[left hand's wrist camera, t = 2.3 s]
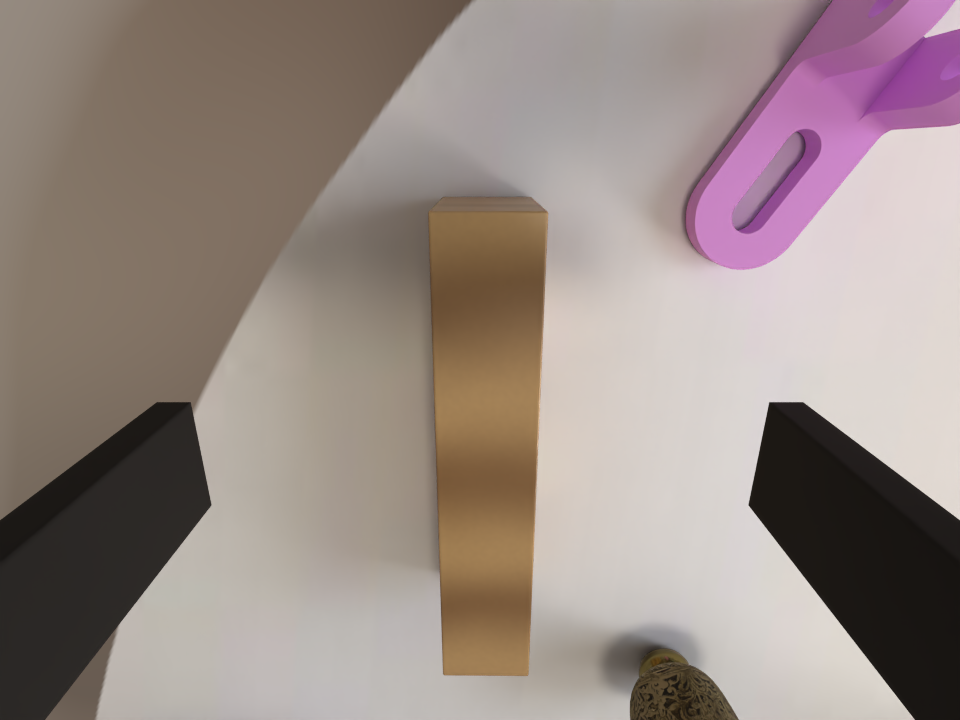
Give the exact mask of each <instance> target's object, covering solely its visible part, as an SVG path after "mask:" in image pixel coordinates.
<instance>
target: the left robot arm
mask: <svg viewBox="0 0 960 720" xmlns="http://www.w3.org/2000/svg"><path fill="white" fill-rule="evenodd" d="M210 506H211V500H210V496H209V491H208V486H207V481H206V476H205V471H204V466H203V461H202V456H201V451H200V446H199V441H198V436H197V431H196V426H195V422H194V417H193V412H192V407H191V403H190V402H157V403H155V404H154V405H153V406H151V407H150V408H149V409H147V410H146V411H145V412H143V413H142V414H141V415H139V416H138V417H137V418H135V419H134V420H133V421H131V422H130V423H129V424H127V425H126V426H125V427H123V428H122V429H121V430H120V431H118V432H117V433H116V434H114V435H113V436H112V437H110V438H109V439H108V440H106V441H105V442H104V443H102V444H101V445H100V446H98V447H97V448H96V449H94V450H93V451H92V452H90V453H89V454H88V455H86V456H85V457H84V458H82V459H81V460H80V461H78V462H77V463H76V464H74V465H73V466H72V467H70V468H69V469H68V470H66V471H65V472H64V473H62V474H61V475H60V476H58V477H57V478H56V479H54V480H53V481H52V482H50V483H49V484H48V485H46V486H45V487H44V488H43V489H41V490H40V491H39V492H37V493H36V494H35V495H33V496H32V497H31V498H29V499H28V500H27V501H25V502H24V503H23V504H21V505H20V506H19V507H17V508H16V509H15V510H13V511H12V512H11V513H9V514H8V515H7V516H5V517H4V518H3V519H1V520H0V720H45V719H46V718H47V716H48V715H49V714H50V713H51V711H52V710H53V709H54V707H55V706H56V705H57V704H58V702H59V701H60V700H61V698H62V697H63V696H64V695H65V693H66V692H67V691H68V689H69V688H70V687H71V686H72V684H73V683H74V682H75V680H76V679H77V678H78V677H79V675H80V674H81V673H82V671H83V670H84V669H85V667H86V666H87V665H88V664H89V662H90V661H91V660H92V658H93V657H94V656H95V655H96V653H97V652H98V651H99V649H100V648H101V647H102V646H103V644H104V643H105V642H106V640H107V639H108V638H109V637H110V635H111V634H112V633H113V631H114V630H115V629H116V628H117V626H118V625H119V624H120V622H121V621H122V620H123V619H124V617H125V616H126V615H127V613H128V612H129V611H130V609H131V608H132V607H133V606H134V604H135V603H136V602H137V600H138V599H139V598H140V597H141V595H142V594H143V593H144V591H145V590H146V589H147V588H148V586H149V585H150V584H151V582H152V581H153V580H154V579H155V577H156V576H157V575H158V573H159V572H160V571H161V570H162V568H163V567H164V566H165V564H166V563H167V562H168V561H169V559H170V558H171V557H172V555H173V554H174V553H175V551H176V550H177V549H178V548H179V546H180V545H181V544H182V542H183V541H184V540H185V539H186V537H187V536H188V535H189V533H190V532H191V531H192V530H193V528H194V527H195V526H196V524H197V523H198V522H199V521H200V519H201V518H202V517H203V515H204V514H205V513H206V512H207V510H208V509H209V508H210ZM749 506H750V508H751V509H752V510H753V512H754V513H755V514H756V515H757V517H758V518H759V519H760V521H761V522H762V523H763V524H764V526H765V527H766V528H767V530H768V531H769V532H770V533H771V535H772V536H773V537H774V539H775V540H776V541H777V542H778V544H779V545H780V546H781V548H782V549H783V550H784V551H785V553H786V554H787V555H788V557H789V558H790V559H791V561H792V562H793V563H794V564H795V566H796V567H797V568H798V570H799V571H800V572H801V573H802V575H803V576H804V577H805V579H806V580H807V581H808V582H809V584H810V585H811V586H812V588H813V589H814V590H815V591H816V593H817V594H818V595H819V597H820V598H821V599H822V600H823V602H824V603H825V604H826V606H827V607H828V608H829V609H830V611H831V612H832V613H833V615H834V616H835V617H836V619H837V620H838V621H839V622H840V624H841V625H842V626H843V628H844V629H845V630H846V631H847V633H848V634H849V635H850V637H851V638H852V639H853V640H854V642H855V643H856V644H857V646H858V647H859V648H860V649H861V651H862V652H863V653H864V655H865V656H866V657H867V658H868V660H869V661H870V662H871V664H872V665H873V666H874V667H875V669H876V670H877V671H878V673H879V674H880V675H881V677H882V678H883V679H884V680H885V682H886V683H887V684H888V686H889V687H890V688H891V689H892V691H893V692H894V693H895V695H896V696H897V697H898V698H899V700H900V701H901V702H902V704H903V705H904V706H905V707H906V709H907V710H908V711H909V713H910V714H911V715H912V716H913V718H914V719H915V720H960V520H959V519H957V518H956V517H955V516H953V515H952V514H951V513H949V512H948V511H947V510H945V509H944V508H943V507H941V506H940V505H939V504H937V503H936V502H935V501H933V500H932V499H931V498H929V497H928V496H927V495H925V494H924V493H923V492H921V491H920V490H919V489H917V488H916V487H915V486H914V485H912V484H911V483H910V482H908V481H907V480H906V479H904V478H903V477H902V476H900V475H899V474H898V473H896V472H895V471H894V470H892V469H891V468H890V467H888V466H887V465H886V464H884V463H883V462H882V461H880V460H879V459H878V458H876V457H875V456H874V455H872V454H871V453H870V452H868V451H867V450H866V449H864V448H863V447H862V446H860V445H859V444H858V443H856V442H855V441H854V440H852V439H851V438H850V437H848V436H847V435H846V434H844V433H843V432H842V431H840V430H839V429H838V428H837V427H835V426H834V425H833V424H831V423H830V422H829V421H827V420H826V419H825V418H823V417H822V416H821V415H819V414H818V413H817V412H815V411H814V410H813V409H811V408H810V407H809V406H807V405H806V404H805V403H803V402H769V407H768V412H767V417H766V422H765V426H764V431H763V436H762V441H761V446H760V451H759V456H758V461H757V466H756V471H755V476H754V481H753V486H752V491H751V496H750V500H749Z"/></svg>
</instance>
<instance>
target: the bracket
mask: <svg viewBox="0 0 960 720" xmlns="http://www.w3.org/2000/svg"><path fill="white" fill-rule="evenodd" d="M954 2H955V0H833V1H832V2H831V4H830V5H829V6H828V8H827V9H826V10H825V12H824V13H823V14H822V16H821V17H820V19H819V20H818V21H817V23H816V24H815V25H814V27H813V28H812V29H811V31H810V32H809V34H808V35H807V36H806V38H805V39H804V40H803V42H802V43H801V44H800V46H799V47H798V48H797V50H796V51H795V53H794V54H793V55H792V57H791V58H790V59H789V61H788V62H787V63H786V65H785V66H784V67H783V69H782V70H781V72H780V73H779V74H778V76H777V77H776V78H775V80H774V81H773V82H772V84H771V85H770V86H769V88H768V89H767V91H766V92H765V93H764V95H763V96H762V97H761V99H760V100H759V101H758V103H757V104H756V105H755V107H754V108H753V110H752V111H751V112H750V114H749V115H748V116H747V118H746V119H745V120H744V122H743V123H742V124H741V126H740V127H739V129H738V130H737V131H736V133H735V134H734V135H733V137H732V138H731V139H730V141H729V142H728V144H727V145H726V146H725V148H724V149H723V150H722V152H721V153H720V154H719V156H718V157H717V158H716V160H715V161H714V163H713V164H712V165H711V167H710V168H709V169H708V171H707V172H706V173H705V175H704V176H703V177H702V179H701V180H700V182H699V183H698V184H697V186H696V187H695V189H694V191H693V193H692V194H691V197H690V199H689V202H688V205H687V210H686V229H687V233H688V236H689V239H690V241H691V243H692V245H693V246H694V248H695V249H696V250H697V251H698V252H699V253H700V254H701V255H702V256H704V257H705V258H707V259H709V260H711V261H713V262H715V263H717V264H719V265H721V266H724V267H727V268H731V269H739V270H744V269H752V268H756V267H759V266H762V265H765V264H767V263H769V262H771V261H772V260H774V259H776V258H777V257H778V256H780V255H781V254H782V253H783V252H784V251H785V250H787V248H788V247H789V246H790V245H791V244H792V243H793V241H794V240H795V239H796V238H797V237H798V235H799V234H800V233H801V232H802V231H803V229H804V228H805V227H806V226H807V225H808V223H809V222H810V221H811V220H812V218H813V217H814V216H815V215H816V214H817V212H818V211H819V210H820V209H821V208H822V206H823V205H824V204H825V203H826V202H827V200H828V199H829V198H830V197H831V195H832V194H833V193H834V192H835V191H836V189H837V188H838V187H839V186H840V185H841V183H842V182H843V181H844V180H845V179H846V177H847V176H848V175H849V174H850V172H851V171H852V170H853V169H854V168H855V166H856V165H857V164H858V163H859V162H860V160H861V159H862V158H863V157H864V156H865V154H866V153H867V152H868V151H869V149H870V148H871V147H872V146H873V145H874V143H875V142H876V141H877V140H878V139H879V138H880V137H881V136H882V135H883V134H885V133H886V132H888V131H890V130H894V129H910V128H925V127H941V126H951V125H956V124H959V123H960V29H958V30H954V31H950V32H947V33H943V34H939V35H935V36H932V37H928V38H925V37H924V35H925V34H926V33H927V32H928V31H929V30H930V29H931V28H932V27H933V26H934V25H935V24H936V23H937V22H938V21H939V20H940V19H941V18H942V17H943V16H944V15H945V13H946V12H947V11H948V10H949V8H950V7H951V6H952V5H953V3H954ZM796 131H797V132H799V133H801V134H802V136H803V137H804V139H805V143H806V149H805V153H804V155H803V157H802V159H801V160H800V161H799V163H798V164H797V165H796V166H795V168H794V169H793V170H792V171H791V173H790V174H789V175H788V177H787V178H786V179H785V180H784V182H783V183H782V184H781V185H780V187H779V188H778V189H777V190H776V192H775V193H774V194H773V196H772V197H771V198H770V199H769V201H768V202H767V203H766V204H765V206H764V207H763V208H762V209H761V211H760V212H759V213H758V215H757V216H756V217H755V218H754V220H753V221H752V222H751V223H750V224H749V225H748V226H747V227H745V228H744V229H741V230H736V229H735V227H734V226H733V223H732V213H733V210H734V208H735V207H736V205H737V204H738V203H739V201H740V200H741V199H742V197H743V196H744V195H745V194H746V192H747V191H748V190H749V188H750V187H751V186H752V184H753V183H754V182H755V181H756V179H757V178H758V177H759V175H760V174H761V173H762V171H763V170H764V169H765V168H766V166H767V165H768V164H769V162H770V161H771V160H772V159H773V157H774V156H775V155H776V153H777V152H778V151H779V149H780V148H781V147H782V146H783V144H784V143H785V142H786V140H787V139H788V138H789V137H790V136H791V135H792V134H793V133H794V132H796Z"/></svg>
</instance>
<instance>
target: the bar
mask: <svg viewBox="0 0 960 720" xmlns="http://www.w3.org/2000/svg"><path fill="white" fill-rule="evenodd" d="M428 223H429V254H430V285H431V316H432V346H433V377H434V408H435V439H436V469H437V500H438V531H439V562H440V593H441V623H442V654H443V674H444V675H482V676H528V671H529V648H530V625H531V601H532V578H533V555H534V531H535V508H536V485H537V461H538V438H539V414H540V391H541V368H542V344H543V321H544V298H545V274H546V251H547V228H548V212H547V211H546V210H545V209H544V208H543V207H542V206H541V205H539V204H538V203H537V202H536V201H535V200H534V199H533V198H531V197H443V198H442V199H441V200H440V201H439V202H438V203H437V204H436V205H435V206H434V207H433V208H432V209H431V210H430V211H429V212H428Z"/></svg>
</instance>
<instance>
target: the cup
mask: <svg viewBox="0 0 960 720" xmlns="http://www.w3.org/2000/svg"><path fill="white" fill-rule="evenodd" d="M639 677H640V678H639V679H638V680H637V682H636V684H635V686H634V688H633V691H632V694H631V700H630V720H739V719H738V718H737V716H736V714H735V713H734V711H733V709H732V707H731V706H730V704H729V703H728V701H727V699H726V698H725V696H724V695H723V693H722V692H721V690H720V689H719V688H718V686H717V685H716V684H715V683H714V682H713V680H712V679H711V678H710V677H708V676H707V675H706V674H705V673H704V672H702V671H701V670H699V669H697V668H695V667H693V666H691V665H689V663H688V662H687V660H686V659H685V658H684V657H683V656H682V655H681V654H680V653H678V652H677V651H675V650H672V649H666V648H662V649H656V650H653V651H651V652H649V653H648V654H647V655H645V656H644V658H643V659H642V661H641V663H640V667H639Z"/></svg>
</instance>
